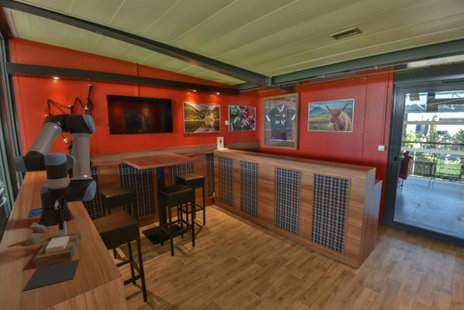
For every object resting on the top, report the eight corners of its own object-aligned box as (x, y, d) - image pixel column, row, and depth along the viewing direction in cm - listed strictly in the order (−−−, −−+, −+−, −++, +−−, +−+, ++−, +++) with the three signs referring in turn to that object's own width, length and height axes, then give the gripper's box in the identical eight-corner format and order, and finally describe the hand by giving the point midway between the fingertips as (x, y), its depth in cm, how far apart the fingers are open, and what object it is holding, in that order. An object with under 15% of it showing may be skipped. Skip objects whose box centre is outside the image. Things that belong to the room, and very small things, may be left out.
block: (52, 242, 96) (52, 238, 96) (69, 239, 99) (68, 235, 99) (45, 253, 88) (45, 248, 88) (63, 249, 91) (63, 245, 91)
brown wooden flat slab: (51, 243, 103) (50, 235, 102) (81, 237, 108) (80, 230, 108) (35, 267, 85) (34, 258, 85) (71, 260, 90) (71, 251, 90)
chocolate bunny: (47, 240, 106) (45, 221, 104) (26, 246, 100) (23, 226, 98) (45, 236, 109) (43, 217, 108) (24, 242, 103) (21, 223, 102)
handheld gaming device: (28, 216, 131) (30, 208, 142) (28, 218, 131) (31, 210, 142) (46, 212, 136) (47, 206, 148) (46, 214, 136) (47, 207, 148)
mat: (37, 268, 85) (37, 267, 85) (79, 259, 91) (79, 258, 91) (23, 291, 73) (23, 290, 73) (73, 279, 79) (72, 278, 79)
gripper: (52, 184, 102) (56, 230, 105) (42, 191, 90) (48, 243, 93) (71, 182, 105) (75, 227, 108) (64, 189, 94) (69, 240, 97)
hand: (62, 235), depth 101 cm, fingers closed
